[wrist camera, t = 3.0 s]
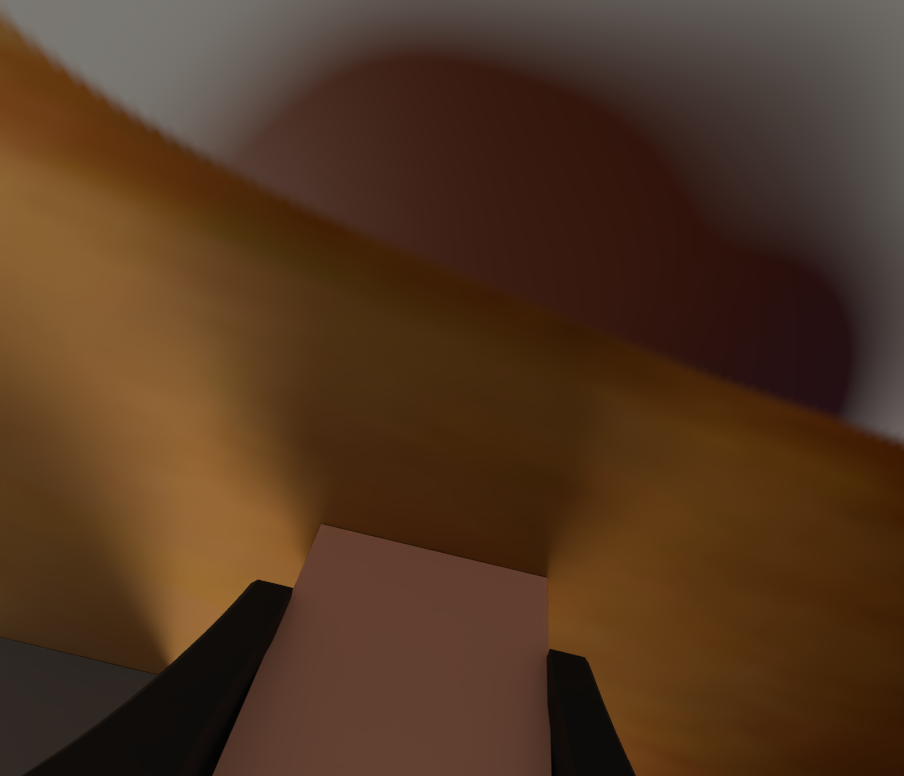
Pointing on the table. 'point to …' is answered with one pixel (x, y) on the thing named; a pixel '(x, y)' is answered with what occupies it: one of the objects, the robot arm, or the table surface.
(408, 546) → the domino
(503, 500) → the table surface
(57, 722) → the domino
